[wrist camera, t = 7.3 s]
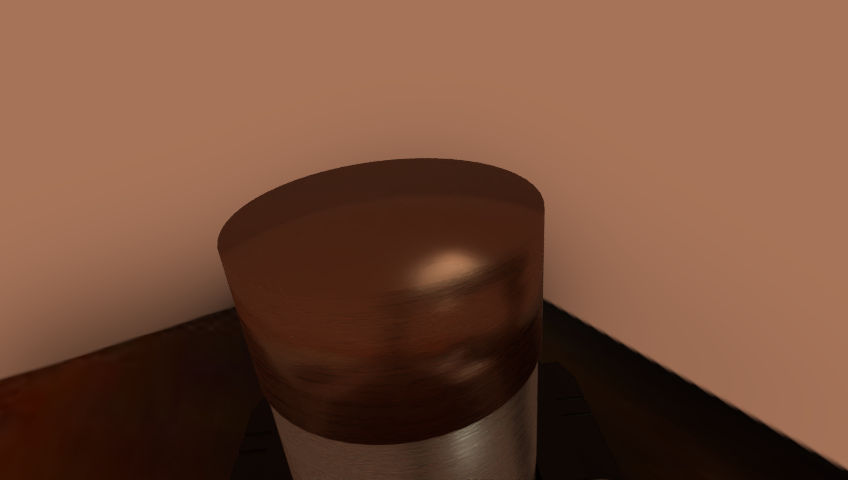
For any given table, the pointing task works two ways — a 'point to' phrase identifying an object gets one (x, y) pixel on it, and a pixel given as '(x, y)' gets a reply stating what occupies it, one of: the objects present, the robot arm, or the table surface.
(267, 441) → the robot arm
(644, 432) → the table surface
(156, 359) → the table surface
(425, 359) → the peg
